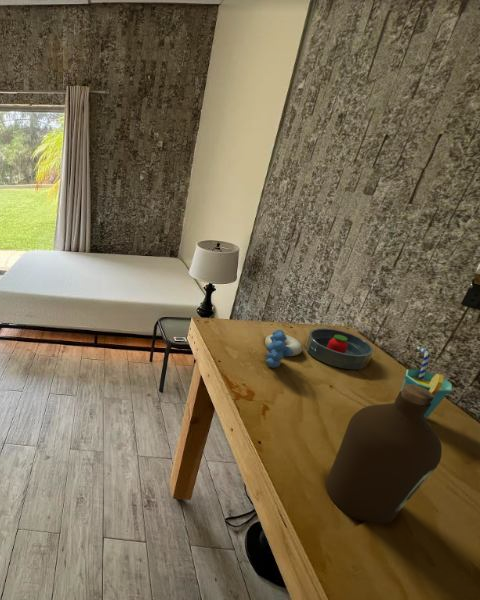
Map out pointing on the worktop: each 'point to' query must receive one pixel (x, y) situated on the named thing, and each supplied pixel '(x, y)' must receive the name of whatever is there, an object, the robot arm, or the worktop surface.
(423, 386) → the cup
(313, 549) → the worktop surface
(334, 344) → the strawberry
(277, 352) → the grapes
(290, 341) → the donut
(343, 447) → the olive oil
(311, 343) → the bowl
